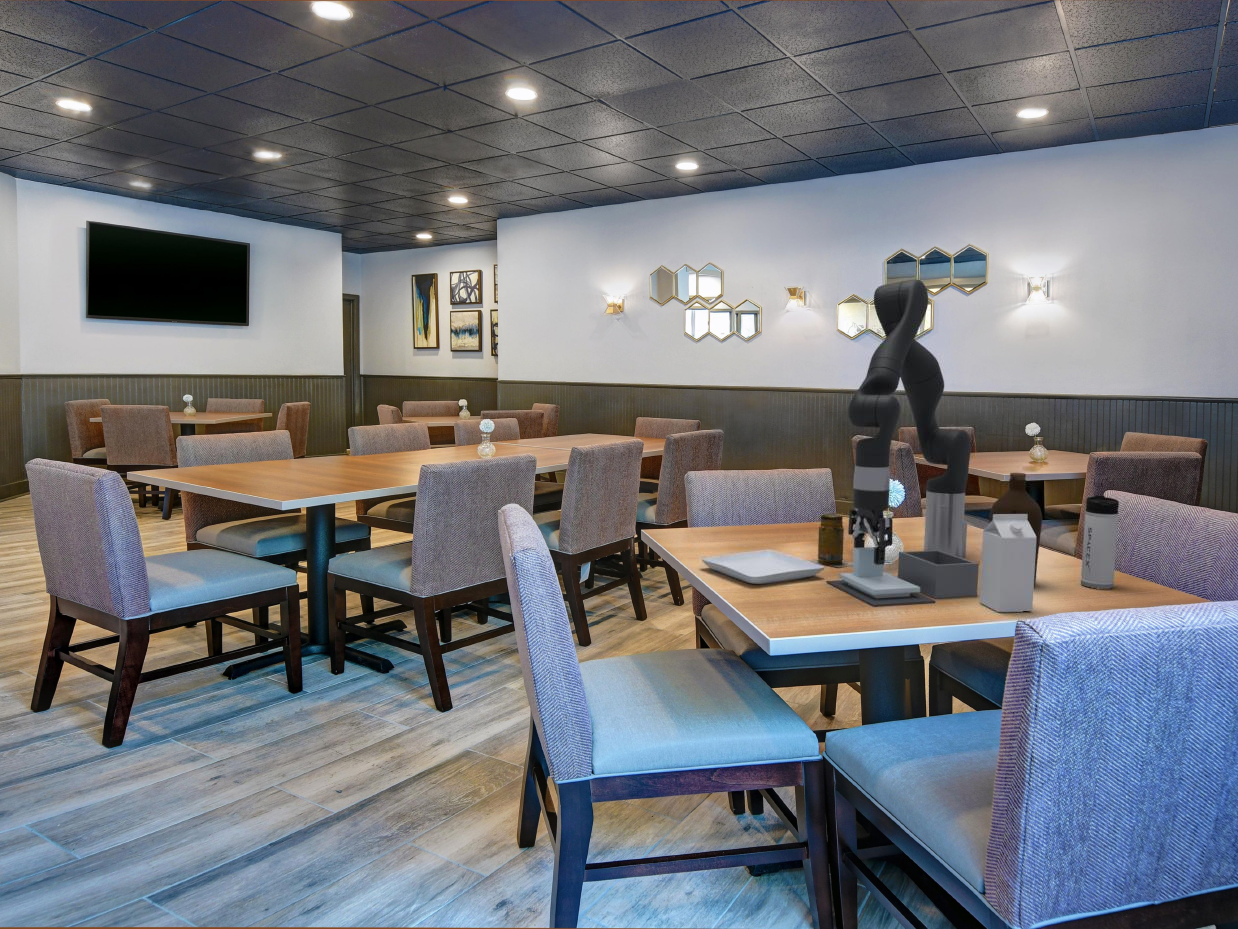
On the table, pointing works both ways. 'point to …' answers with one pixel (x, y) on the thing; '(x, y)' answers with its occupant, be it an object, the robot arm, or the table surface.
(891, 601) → the mat
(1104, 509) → the travel mug
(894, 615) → the table surface
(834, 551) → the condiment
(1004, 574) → the milk carton
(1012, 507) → the olive oil
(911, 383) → the robot arm
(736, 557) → the salad plate
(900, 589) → the lid
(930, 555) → the tub
